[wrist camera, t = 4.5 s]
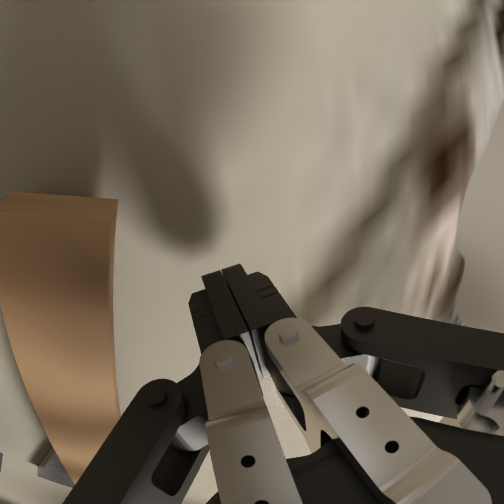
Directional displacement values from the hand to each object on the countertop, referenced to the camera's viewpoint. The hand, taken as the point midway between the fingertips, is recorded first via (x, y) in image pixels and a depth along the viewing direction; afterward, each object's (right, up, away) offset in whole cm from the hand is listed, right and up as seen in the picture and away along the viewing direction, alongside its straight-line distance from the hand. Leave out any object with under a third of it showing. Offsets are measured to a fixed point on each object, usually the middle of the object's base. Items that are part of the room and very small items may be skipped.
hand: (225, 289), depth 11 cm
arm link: (-8, -8, +2) cm, 11 cm away
